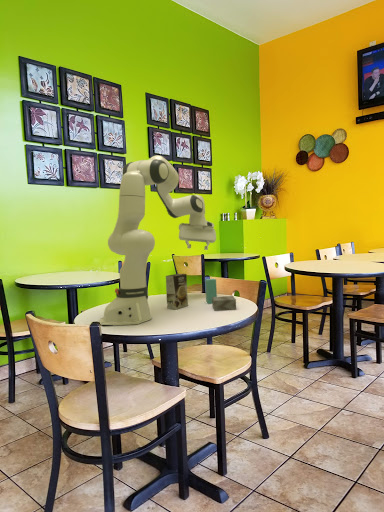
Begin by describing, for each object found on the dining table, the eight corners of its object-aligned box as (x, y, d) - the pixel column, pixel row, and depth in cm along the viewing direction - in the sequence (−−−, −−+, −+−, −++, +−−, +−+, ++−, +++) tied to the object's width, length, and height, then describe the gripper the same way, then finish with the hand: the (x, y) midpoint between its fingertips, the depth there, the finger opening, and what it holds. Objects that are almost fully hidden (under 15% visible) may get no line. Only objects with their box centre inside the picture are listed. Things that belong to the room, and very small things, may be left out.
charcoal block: (214, 311, 182) (214, 300, 181) (212, 307, 192) (212, 297, 191) (236, 310, 182) (235, 299, 182) (233, 306, 192) (232, 295, 192)
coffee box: (177, 309, 189) (175, 276, 188) (166, 308, 193) (164, 275, 192) (188, 306, 196) (187, 273, 195) (178, 305, 200) (176, 273, 199)
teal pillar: (208, 304, 198) (207, 280, 198) (206, 302, 203) (205, 279, 202) (217, 303, 199) (216, 279, 198) (214, 301, 204) (213, 278, 203)
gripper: (180, 220, 209) (180, 245, 205) (216, 224, 215) (217, 248, 210) (177, 224, 214) (177, 249, 210) (212, 228, 220) (213, 252, 216)
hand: (197, 248), depth 210 cm, fingers open, 8 cm apart
